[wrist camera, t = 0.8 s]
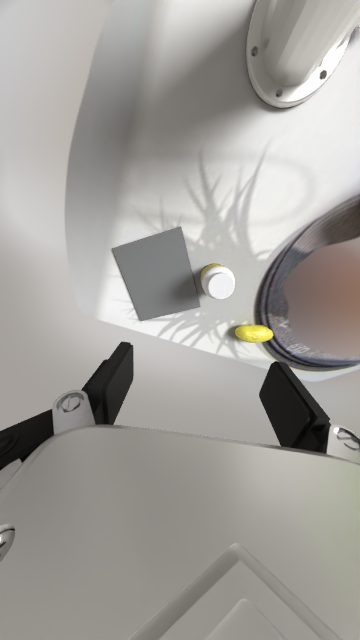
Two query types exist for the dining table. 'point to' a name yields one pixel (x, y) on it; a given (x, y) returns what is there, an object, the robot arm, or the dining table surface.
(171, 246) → the charcoal mat
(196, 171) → the dining table surface
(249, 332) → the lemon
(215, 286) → the supplement bottle
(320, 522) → the robot arm
